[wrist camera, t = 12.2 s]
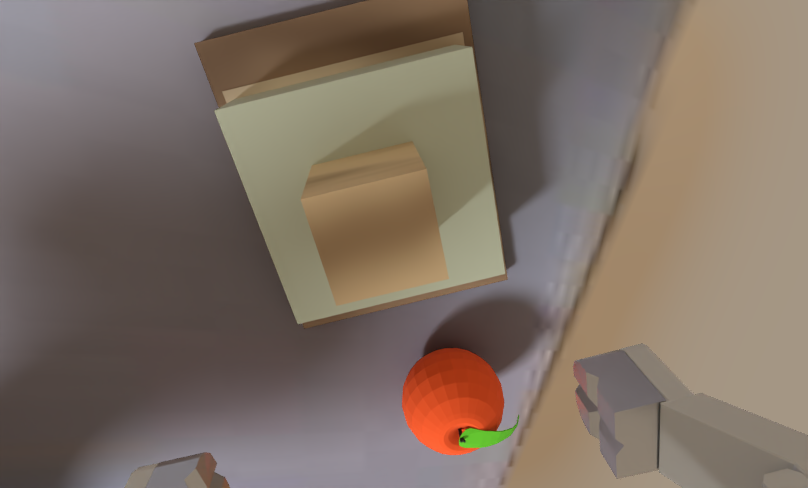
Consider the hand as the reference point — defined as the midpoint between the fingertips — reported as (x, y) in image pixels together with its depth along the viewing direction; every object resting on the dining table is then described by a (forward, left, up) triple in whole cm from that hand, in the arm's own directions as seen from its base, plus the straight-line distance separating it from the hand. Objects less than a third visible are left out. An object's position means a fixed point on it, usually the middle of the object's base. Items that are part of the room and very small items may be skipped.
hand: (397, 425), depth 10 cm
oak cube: (0, 0, -15) cm, 15 cm away
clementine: (-16, -2, -20) cm, 26 cm away
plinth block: (0, 0, -19) cm, 19 cm away
